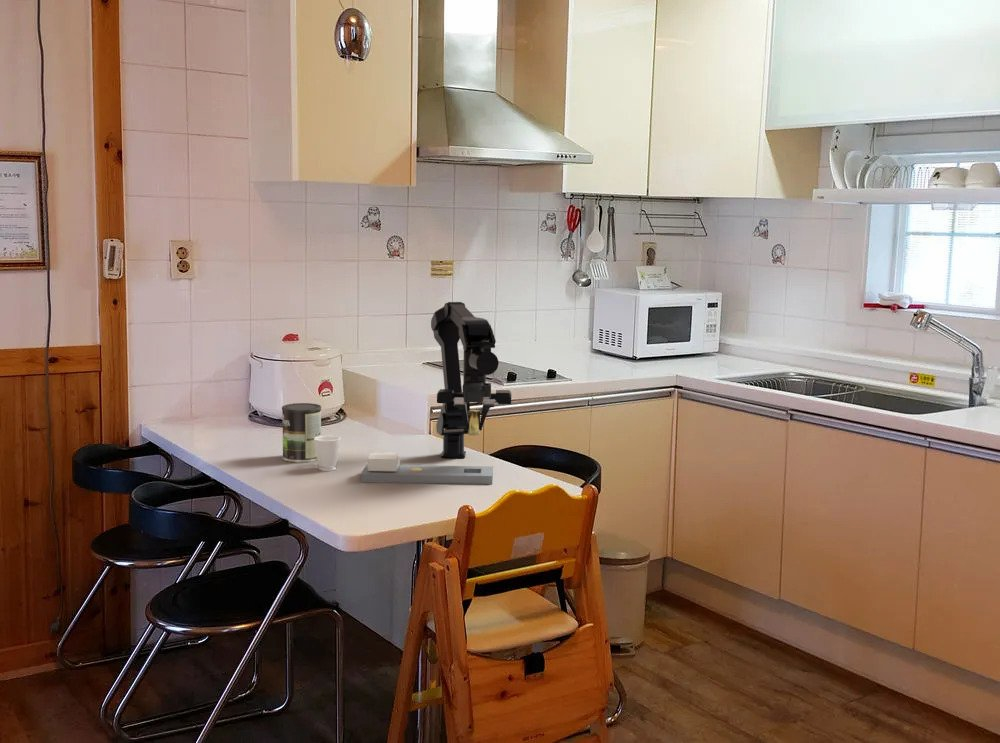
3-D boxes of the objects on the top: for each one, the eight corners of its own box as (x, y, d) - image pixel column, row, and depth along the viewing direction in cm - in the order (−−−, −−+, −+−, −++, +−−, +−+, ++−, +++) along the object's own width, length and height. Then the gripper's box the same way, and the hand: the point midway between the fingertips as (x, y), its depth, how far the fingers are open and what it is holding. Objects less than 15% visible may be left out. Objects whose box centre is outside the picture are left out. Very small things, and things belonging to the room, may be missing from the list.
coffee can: (285, 464, 268) (285, 410, 266) (279, 455, 277) (279, 403, 275) (325, 461, 271) (324, 408, 269) (317, 453, 281) (317, 402, 279)
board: (366, 472, 260) (366, 463, 260) (492, 474, 260) (492, 466, 260) (360, 481, 250) (360, 473, 250) (492, 484, 250) (492, 475, 250)
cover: (371, 464, 259) (371, 452, 258) (399, 464, 258) (399, 453, 258) (367, 470, 252) (367, 458, 251) (396, 471, 252) (396, 459, 251)
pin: (468, 433, 263) (468, 409, 262) (480, 433, 263) (480, 410, 262) (467, 435, 260) (468, 412, 259) (479, 435, 260) (480, 412, 259)
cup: (318, 473, 258) (318, 441, 257) (306, 464, 267) (306, 434, 266) (345, 470, 262) (345, 439, 261) (332, 462, 270) (332, 432, 269)
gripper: (435, 373, 251) (435, 436, 254) (511, 374, 251) (510, 437, 254) (438, 367, 262) (438, 427, 265) (511, 368, 262) (510, 428, 265)
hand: (474, 430), depth 262 cm, fingers closed on pin, 3 cm apart
